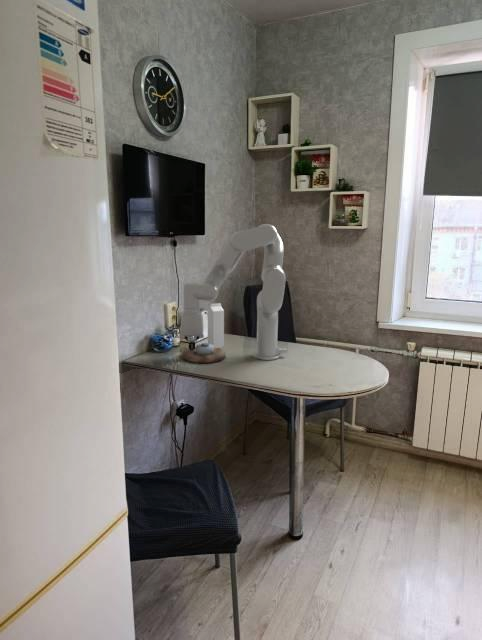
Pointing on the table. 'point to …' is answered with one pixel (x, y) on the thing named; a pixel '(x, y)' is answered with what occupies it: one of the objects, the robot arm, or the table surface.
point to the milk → (216, 325)
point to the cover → (204, 349)
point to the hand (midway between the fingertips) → (192, 350)
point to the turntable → (203, 356)
